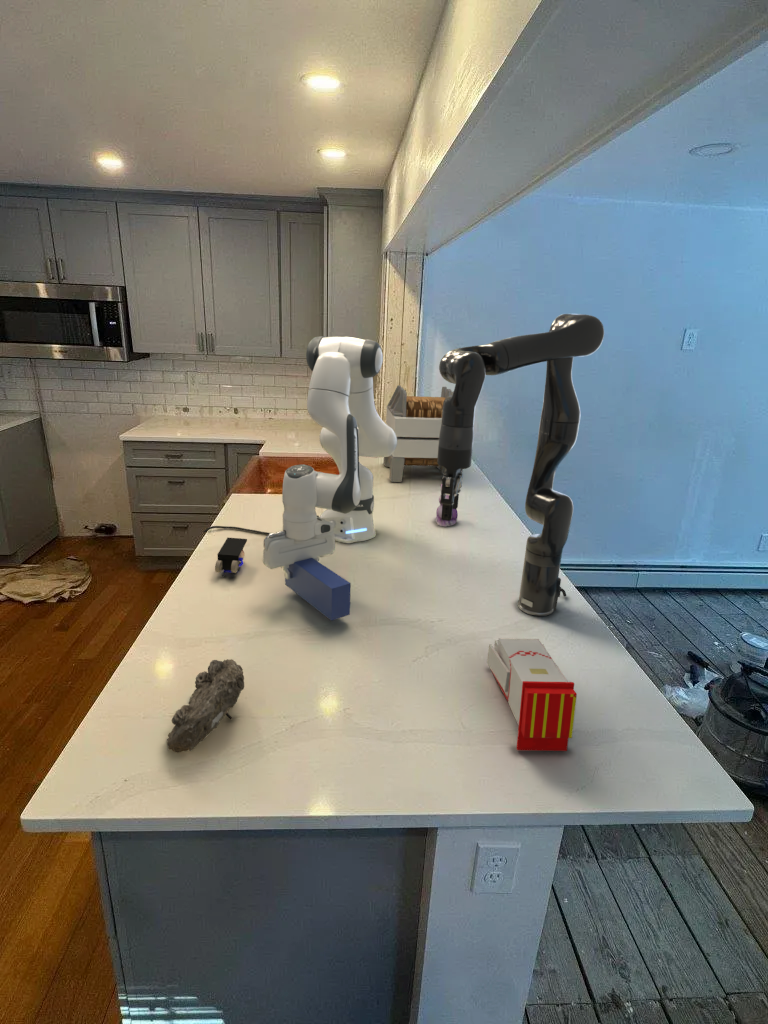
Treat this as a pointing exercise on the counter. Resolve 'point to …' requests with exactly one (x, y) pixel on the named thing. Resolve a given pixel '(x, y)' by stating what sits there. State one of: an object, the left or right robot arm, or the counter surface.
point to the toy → (534, 693)
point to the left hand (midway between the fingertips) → (300, 575)
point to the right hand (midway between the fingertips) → (449, 513)
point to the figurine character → (230, 556)
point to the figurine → (439, 514)
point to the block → (320, 588)
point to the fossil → (206, 705)
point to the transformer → (414, 430)
